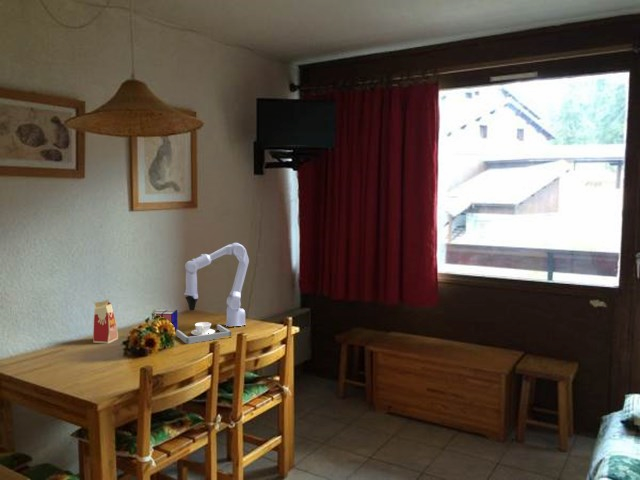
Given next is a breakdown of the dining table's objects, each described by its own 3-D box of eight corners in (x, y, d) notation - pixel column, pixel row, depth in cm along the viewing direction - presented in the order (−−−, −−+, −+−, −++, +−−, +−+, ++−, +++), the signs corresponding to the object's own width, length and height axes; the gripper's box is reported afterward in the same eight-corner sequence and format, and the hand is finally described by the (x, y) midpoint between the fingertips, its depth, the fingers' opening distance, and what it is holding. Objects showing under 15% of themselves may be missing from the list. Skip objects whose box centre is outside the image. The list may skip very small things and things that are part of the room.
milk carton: (118, 338, 260) (117, 297, 258) (109, 343, 251) (107, 301, 249) (100, 337, 261) (99, 296, 259) (90, 342, 252) (89, 300, 250)
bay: (219, 330, 277) (219, 324, 277) (231, 337, 264) (231, 331, 263) (176, 335, 266) (176, 329, 265) (186, 344, 252) (186, 337, 252)
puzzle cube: (172, 333, 270) (171, 314, 269) (152, 333, 270) (151, 313, 269) (177, 328, 280) (177, 309, 279) (158, 328, 280) (158, 309, 279)
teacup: (192, 338, 262) (192, 328, 261) (189, 332, 273) (189, 322, 272) (217, 336, 266) (217, 325, 265) (212, 330, 277) (212, 320, 277)
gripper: (179, 282, 281) (179, 308, 283) (188, 287, 269) (188, 313, 270) (192, 281, 285) (193, 306, 286) (202, 285, 273) (202, 312, 274)
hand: (191, 310), depth 279 cm, fingers closed
